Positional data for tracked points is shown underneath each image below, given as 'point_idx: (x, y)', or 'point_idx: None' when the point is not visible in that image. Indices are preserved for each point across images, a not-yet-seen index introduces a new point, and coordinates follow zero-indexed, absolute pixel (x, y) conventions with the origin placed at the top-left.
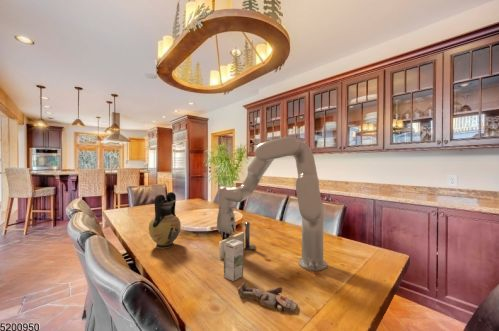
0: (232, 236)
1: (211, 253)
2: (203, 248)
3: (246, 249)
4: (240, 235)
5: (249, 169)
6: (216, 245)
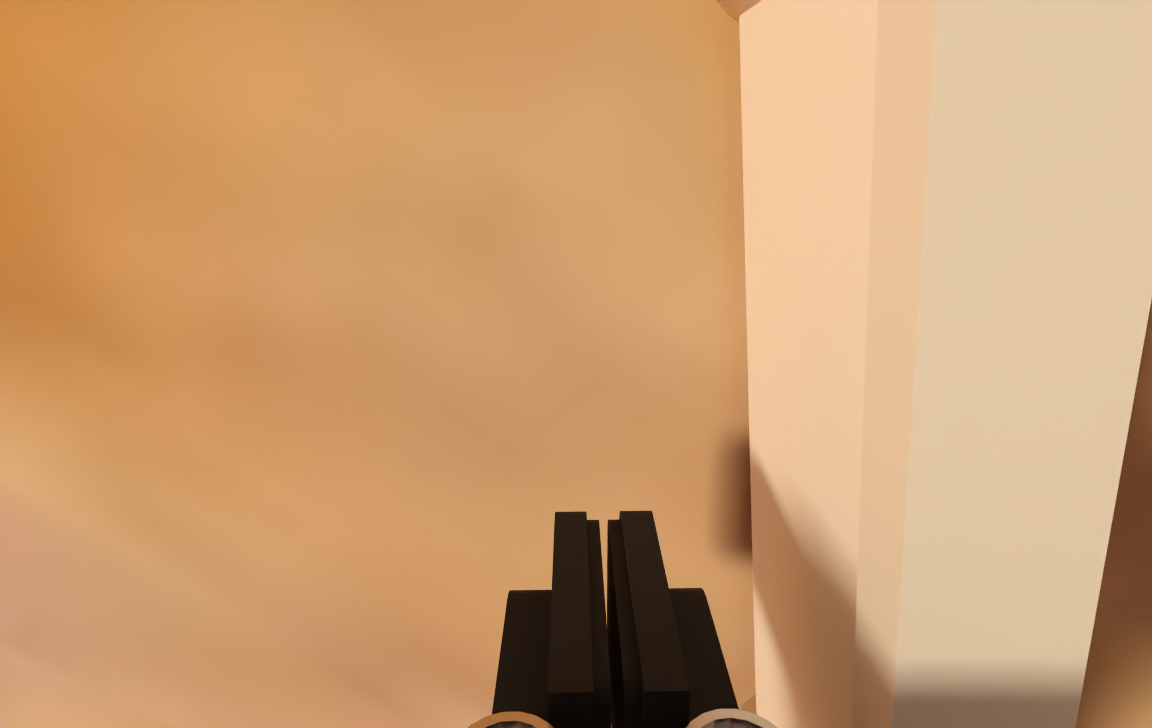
0: (951, 714)
1: (418, 665)
2: (67, 616)
3: None
4: (1116, 150)
5: None
6: (71, 325)
